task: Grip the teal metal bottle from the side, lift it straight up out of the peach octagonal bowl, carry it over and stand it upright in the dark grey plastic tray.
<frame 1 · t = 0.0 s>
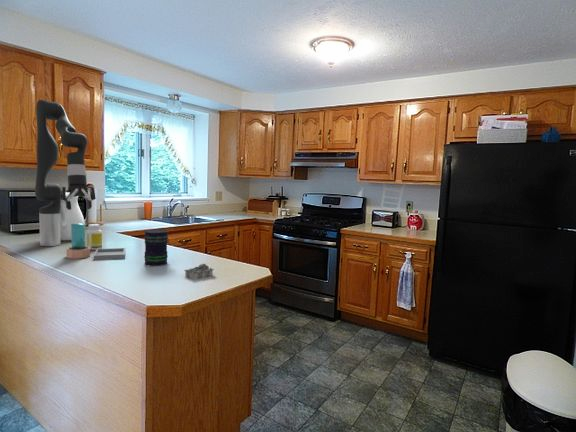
hand: (79, 209, 162), 22 cm above the table, tool pointing down, fingers open, 8 cm apart
dark blue barrel: (156, 263, 157), on the table
peach octagonal bowl: (78, 256, 163), on the table
pitcher: (66, 240, 201), on the table, touching arm
bottle: (78, 255, 163), resting on peach octagonal bowl
supplement bottle: (94, 249, 181), on the table
tray: (110, 255, 168), on the table
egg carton: (199, 276, 141), on the table
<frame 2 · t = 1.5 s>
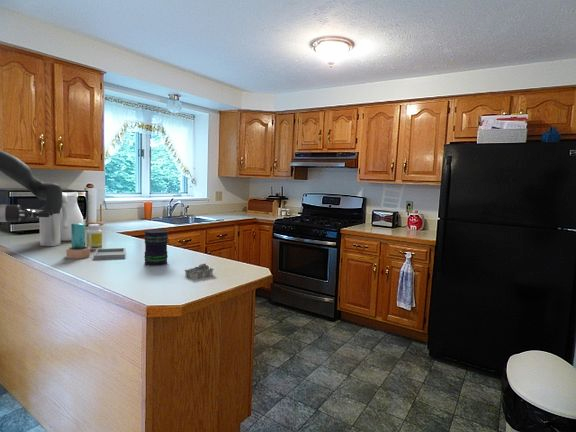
hand: (51, 213, 157), 20 cm above the table, tool horizontal, fingers open, 8 cm apart
pitcher: (66, 240, 201), on the table
everything else where it was.
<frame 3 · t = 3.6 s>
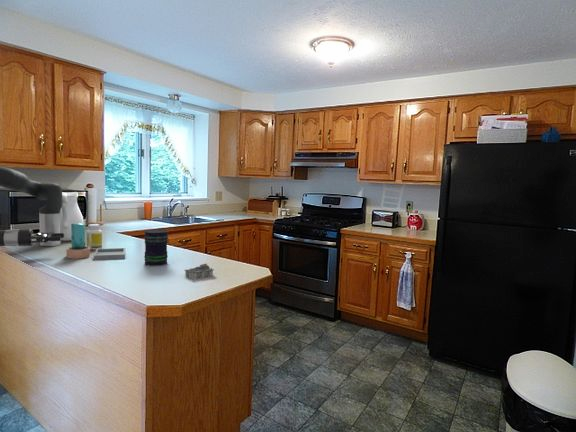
hand: (62, 236, 159), 10 cm above the table, tool horizontal, fingers open, 8 cm apart
nothing on the table moved.
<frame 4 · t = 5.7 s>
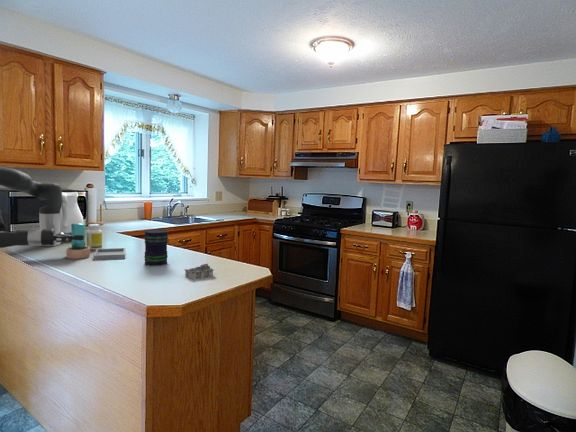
hand: (84, 236, 163), 10 cm above the table, tool horizontal, fingers closed on bottle, 5 cm apart
bottle: (78, 255, 163), point 1 cm above the table, touching gripper, peach octagonal bowl
everything else where it was.
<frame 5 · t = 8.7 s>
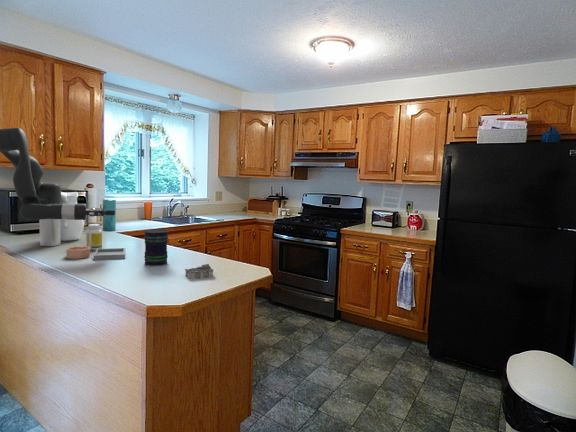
hand: (115, 212, 166), 21 cm above the table, tool horizontal, fingers closed on bottle, 5 cm apart
bottle: (109, 230, 166), point 12 cm above the table, touching gripper
everything else where it was.
when the fingers open (11 cm above the table, at t = 11.7 s): bottle drops 1 cm, resting on tray.
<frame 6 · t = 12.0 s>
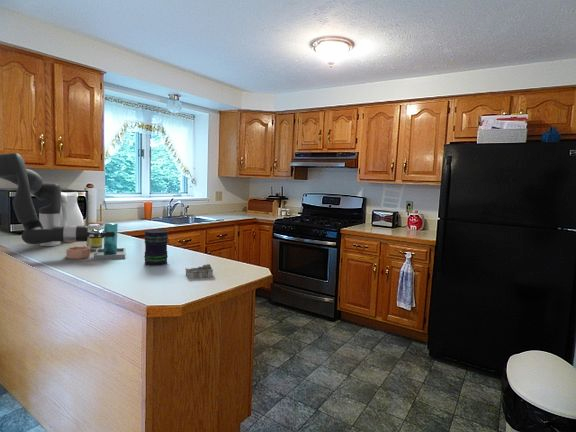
hand: (115, 233, 168), 11 cm above the table, tool horizontal, fingers open, 7 cm apart
bottle: (110, 254, 168), point 1 cm above the table, touching tray
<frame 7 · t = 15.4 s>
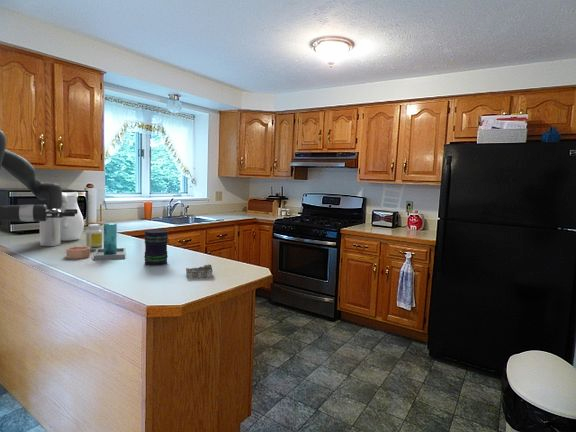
hand: (76, 212, 160), 21 cm above the table, tool horizontal, fingers open, 8 cm apart
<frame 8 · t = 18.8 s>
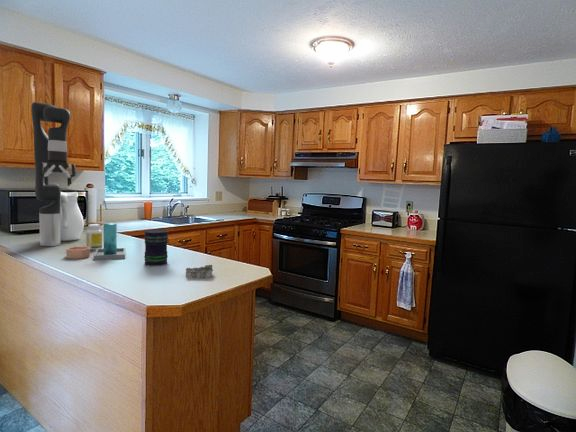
hand: (58, 185, 163), 33 cm above the table, tool pointing down, fingers open, 8 cm apart
at the end: bottle inside the target area on the tray (0.1 cm from its centre), point 0.6 cm above the tray's base; bottle tilted 0°; the gripper is holding nothing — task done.
